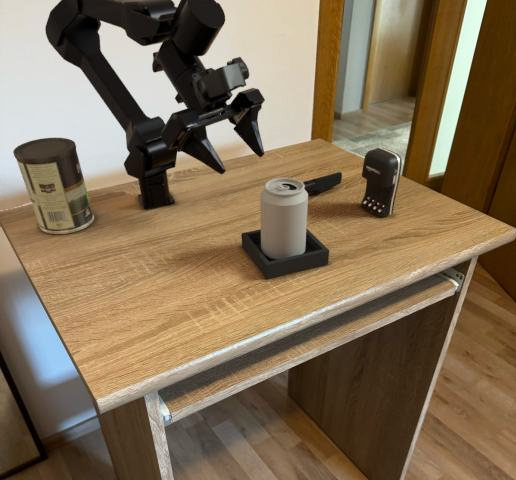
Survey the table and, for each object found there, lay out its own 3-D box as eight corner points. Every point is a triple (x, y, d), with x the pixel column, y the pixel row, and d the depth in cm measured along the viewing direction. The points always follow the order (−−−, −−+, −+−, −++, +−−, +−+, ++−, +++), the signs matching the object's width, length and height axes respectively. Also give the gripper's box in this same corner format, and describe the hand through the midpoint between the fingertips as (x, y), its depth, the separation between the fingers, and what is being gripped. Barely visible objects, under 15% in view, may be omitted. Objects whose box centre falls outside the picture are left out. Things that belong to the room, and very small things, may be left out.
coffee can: (85, 205, 99) (66, 133, 89) (101, 225, 92) (82, 149, 83) (33, 218, 95) (7, 144, 85) (46, 240, 88) (19, 162, 79)
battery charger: (354, 206, 96) (362, 148, 89) (369, 202, 98) (377, 144, 90) (378, 220, 92) (388, 160, 84) (393, 215, 93) (404, 155, 86)
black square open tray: (241, 247, 85) (241, 233, 83) (298, 234, 88) (299, 220, 86) (266, 279, 77) (266, 265, 76) (328, 264, 80) (329, 250, 79)
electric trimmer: (345, 189, 103) (347, 174, 101) (285, 206, 97) (286, 191, 95) (333, 183, 105) (335, 168, 103) (274, 199, 99) (275, 184, 97)
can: (314, 254, 82) (319, 185, 74) (280, 269, 79) (281, 199, 71) (285, 237, 86) (286, 170, 79) (252, 251, 83) (250, 183, 75)
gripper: (162, 50, 65) (227, 152, 66) (255, 29, 75) (308, 119, 77) (136, 103, 74) (193, 192, 76) (221, 79, 84) (270, 157, 86)
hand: (243, 164), depth 78 cm, fingers open, 9 cm apart
